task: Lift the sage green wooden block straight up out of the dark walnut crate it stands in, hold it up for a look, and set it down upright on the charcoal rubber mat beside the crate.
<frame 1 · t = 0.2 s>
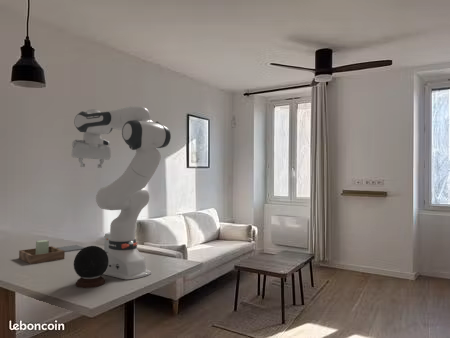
hand: (91, 167, 178), 48 cm above the table, tool pointing down, fingers open, 8 cm apart
small box: (112, 251, 195), on the table
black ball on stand: (90, 283, 137), on the table
green block: (42, 249, 175), in the walnut crate
walnut crate: (41, 258, 175), on the table
rubber mat: (71, 248, 199), on the table
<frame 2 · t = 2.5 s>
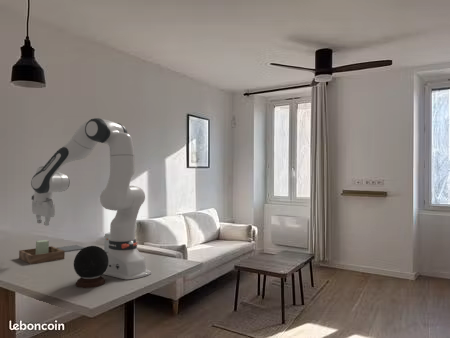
hand: (42, 224, 175), 18 cm above the table, tool pointing down, fingers open, 8 cm apart
nothing on the table moved.
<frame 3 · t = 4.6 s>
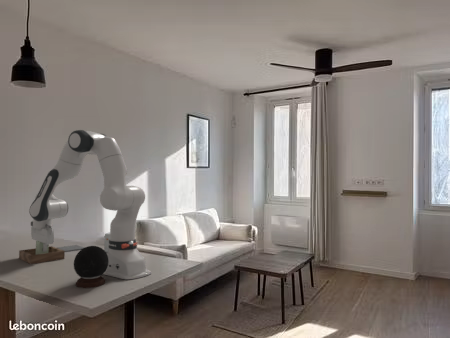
hand: (42, 250, 175), 4 cm above the table, tool pointing down, fingers closed on green block, 4 cm apart
green block: (42, 249, 175), in the walnut crate, touching gripper
everything else where it was.
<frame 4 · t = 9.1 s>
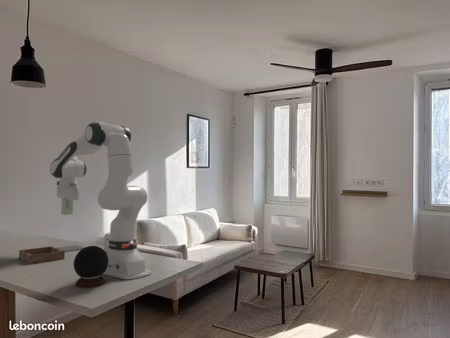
hand: (67, 206, 196), 25 cm above the table, tool pointing down, fingers closed on green block, 4 cm apart
green block: (67, 206, 196), point 25 cm above the table, touching gripper
everything else where it was.
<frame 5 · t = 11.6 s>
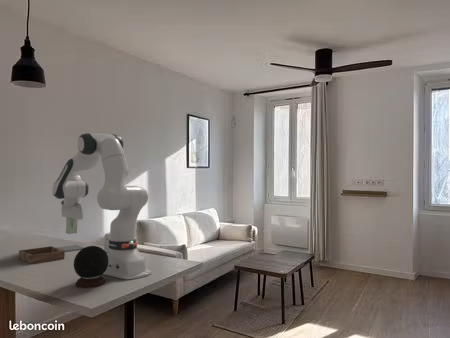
hand: (71, 226, 200), 13 cm above the table, tool pointing down, fingers closed on green block, 4 cm apart
green block: (71, 225, 200), point 14 cm above the table, touching gripper
everything else where it was.
when the fingers open (6 cm above the table, at t = 13.8 s): green block drops 1 cm, resting on rubber mat.
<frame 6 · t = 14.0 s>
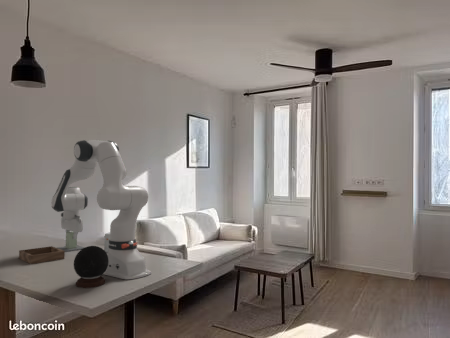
hand: (71, 238, 199), 6 cm above the table, tool pointing down, fingers open, 6 cm apart
green block: (71, 240, 199), on the rubber mat, point 5 cm above the table
everything else where it was.
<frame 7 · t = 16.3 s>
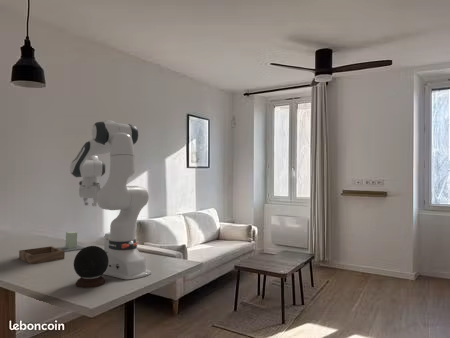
hand: (90, 205, 202), 25 cm above the table, tool pointing down, fingers open, 8 cm apart
nothing on the table moved.
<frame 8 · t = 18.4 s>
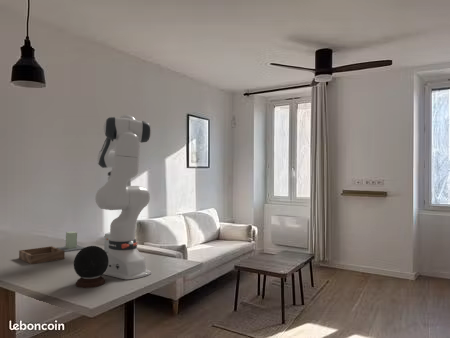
hand: (118, 196, 206), 31 cm above the table, tool pointing down, fingers open, 8 cm apart
nothing on the table moved.
at the end: green block inside the target area on the rubber mat (0.1 cm from its centre), point 5.1 cm above the rubber mat's base; green block tilted 0°; the gripper is holding nothing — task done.
